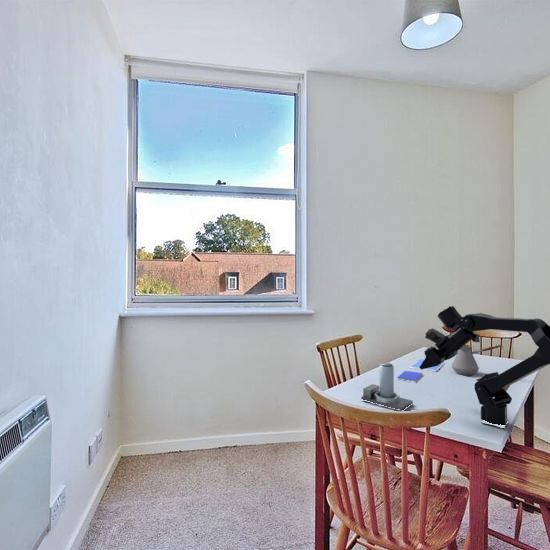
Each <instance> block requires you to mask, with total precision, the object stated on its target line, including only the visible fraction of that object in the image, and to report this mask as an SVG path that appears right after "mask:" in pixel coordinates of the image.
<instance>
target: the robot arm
mask: <svg viewBox="0 0 550 550" xmlns="http://www.w3.org/2000/svg"><path fill="white" fill-rule="evenodd" d="M437 318H438V319H439V320H440V321H441V323H442V324H443V325H444V327H445V328H446V329H447V330H451V331H452V332H451V333H450V334H447V335H445V334H444V333H442V332H441V331H438V330H437V329H435V328H429V329H428V330H427V331H426V332H425V336H424V338H425V339H427V340H429V341H431V342H433V343H435V344H434V346H430V347H428V348H426V349H425V350H424V355H425V358H424V359H423V360H424V361H423V362H422V364H421V365H420V367H419V368H420V369H421V370H420V371H423V370H422V369H426V368H430V367H435V366H438V365H440V364H441V363H443V362H444V363H445V361H448V360H450V359H452V358H455V357H456V355H457V354H458V351H459V350H460V349H461V348H463V346H464V345H468V343H469V342H470V341H471V342H473V343H480V341H481V340H480V336H481V335H480V334H478V333H475V332H480V331H487V330H493V331H494V330H496V331H505V332H506V331H509V332H521V333H528V335H530V337H531V339H532V341H533V343H534V344H535V346H537V347H538V348H537V349H536V351H534V353H533V354H532V355H530V356H529V357H528V358H525V359H523V360H522V361H520V362H519V363H516V364H515V365H513V366H512V367H510V368H507V369H506V370H504V371H503V372H500V373H499V372H498V371H495V372H490V373H485V374H484V375H483V376H482V377H480V378H477V379H475V380H476V382H475V383H474V391H475V393H476V397H477V400H478V403H479V405H481V407H480V420H481V421H482V420H485V421H487V422H489V423H492V424H498V425H500V424H501V425H506V423H507V421H508V405H511V403H512V400H513V398H512V397H511V395H510V394H509V393H508V392H507V391H508V389H509V388H510V387H511V386H512V385H513V384H515V383H517V382H519V381H521V380H523V379H525V378H526V377H528V376H530V375H532V374H534V373H536V372H538V371H540V370H542V369H544V368H545V367H548V366H550V324H549V323H547V322H546V321H545V320H543V319H541V318H518V317H516V318H514V317H496V316H493V315H490V314H487V313H482V312H479V313H478V312H477V313H469V314H468V313H467V314H466V315H464V316H462V315H461V314H460V313H459V311H457V309H456V307H455V306H453V305H452V306H451V305H449V306H448V307H447V308H445V309H443V310H441V311H440V312H438V314H437Z"/></svg>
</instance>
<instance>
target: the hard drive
mask: <svg viewBox="0 0 550 550" xmlns="http://www.w3.org/2000/svg"><path fill="white" fill-rule="evenodd" d="M422 377H423V373H422V372H418V371H417V372H416V371H410V370H404V371H403V372H402V373H400V374H399V375H398V376H397V377H396V379H397V378H398V379H404V380H409V381H408V382H411V381H414V382H413V383H417V382H418V381H419V379H421V378H422ZM398 379H397V380H398ZM404 380H403V381H404Z"/></svg>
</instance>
